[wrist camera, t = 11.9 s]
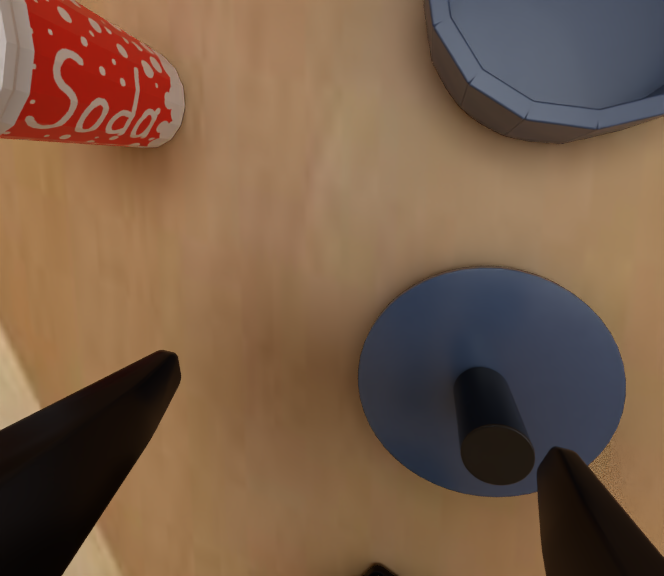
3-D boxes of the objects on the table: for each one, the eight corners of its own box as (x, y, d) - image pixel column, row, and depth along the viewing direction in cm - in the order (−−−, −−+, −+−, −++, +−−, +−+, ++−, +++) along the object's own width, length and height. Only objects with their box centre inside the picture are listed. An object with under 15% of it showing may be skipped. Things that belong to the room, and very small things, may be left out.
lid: (678, 364, 16) (802, 449, 11) (498, 520, 20) (523, 641, 15) (453, 213, 17) (464, 223, 12) (321, 391, 21) (283, 460, 15)
